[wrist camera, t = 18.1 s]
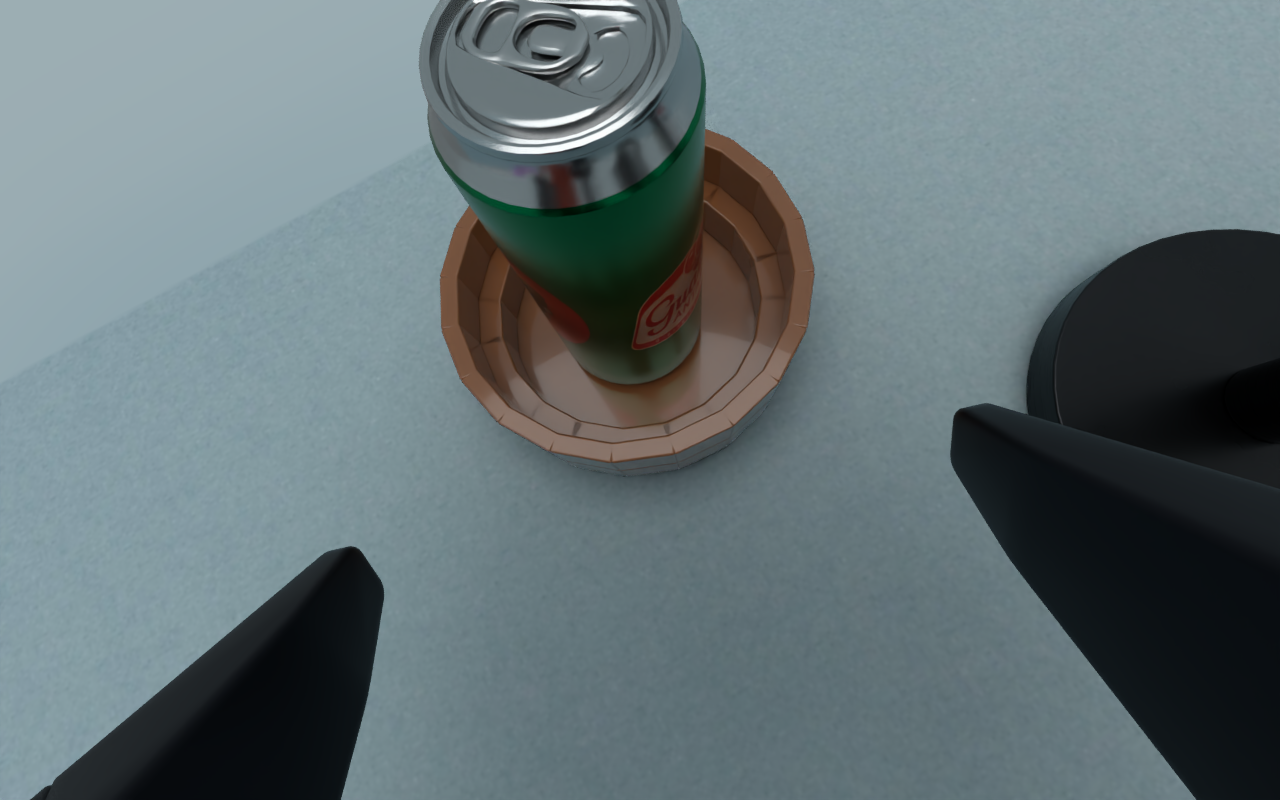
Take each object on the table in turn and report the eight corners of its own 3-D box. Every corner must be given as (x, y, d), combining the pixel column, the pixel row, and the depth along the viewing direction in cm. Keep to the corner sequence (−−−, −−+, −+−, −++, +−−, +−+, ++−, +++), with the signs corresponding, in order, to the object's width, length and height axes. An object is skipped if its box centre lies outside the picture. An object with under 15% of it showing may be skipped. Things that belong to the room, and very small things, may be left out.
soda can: (676, 406, 19) (644, 209, 8) (546, 366, 20) (342, 134, 9) (718, 281, 20) (748, -60, 9) (593, 247, 21) (468, -103, 10)
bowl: (841, 261, 21) (876, 194, 17) (699, 536, 19) (700, 536, 15) (582, 153, 23) (558, 70, 19) (433, 387, 21) (370, 351, 17)
